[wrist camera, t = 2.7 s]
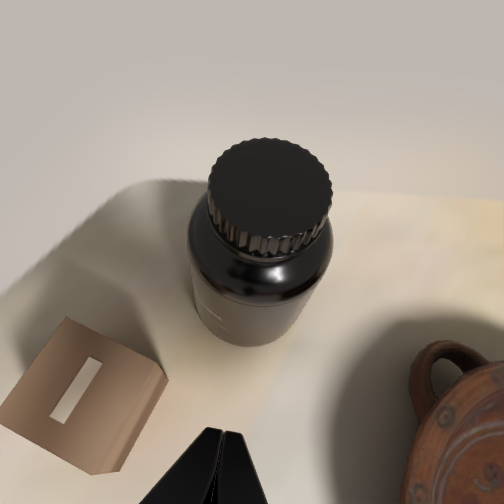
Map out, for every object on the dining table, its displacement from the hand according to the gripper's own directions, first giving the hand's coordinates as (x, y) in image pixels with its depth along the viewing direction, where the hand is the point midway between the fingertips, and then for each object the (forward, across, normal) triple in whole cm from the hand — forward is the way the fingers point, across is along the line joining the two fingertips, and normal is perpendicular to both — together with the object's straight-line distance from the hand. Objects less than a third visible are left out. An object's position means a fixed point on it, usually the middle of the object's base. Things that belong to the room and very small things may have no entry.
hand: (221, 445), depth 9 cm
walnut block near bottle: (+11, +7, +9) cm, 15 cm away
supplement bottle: (+16, 0, +3) cm, 16 cm away
